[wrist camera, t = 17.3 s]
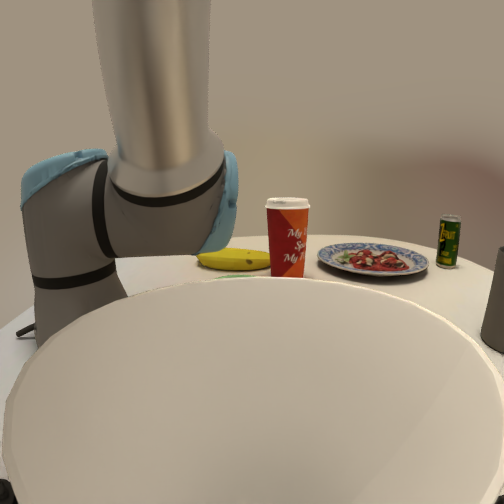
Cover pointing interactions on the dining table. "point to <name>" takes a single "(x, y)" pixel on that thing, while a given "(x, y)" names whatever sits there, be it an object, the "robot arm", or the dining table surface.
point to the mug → (495, 308)
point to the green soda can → (448, 241)
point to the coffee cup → (287, 235)
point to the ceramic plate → (373, 259)
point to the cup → (257, 401)
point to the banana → (235, 259)
